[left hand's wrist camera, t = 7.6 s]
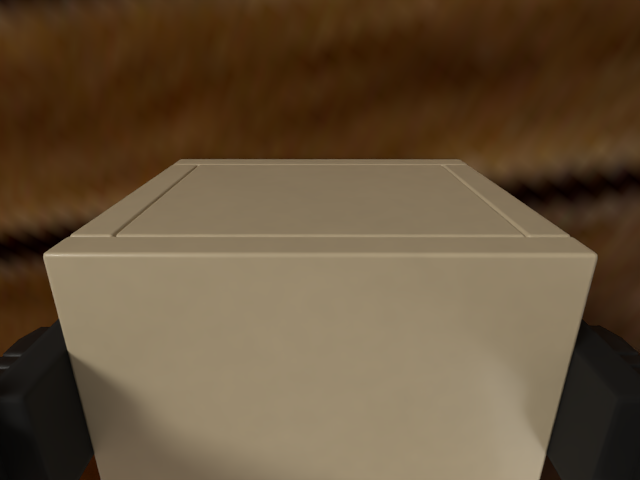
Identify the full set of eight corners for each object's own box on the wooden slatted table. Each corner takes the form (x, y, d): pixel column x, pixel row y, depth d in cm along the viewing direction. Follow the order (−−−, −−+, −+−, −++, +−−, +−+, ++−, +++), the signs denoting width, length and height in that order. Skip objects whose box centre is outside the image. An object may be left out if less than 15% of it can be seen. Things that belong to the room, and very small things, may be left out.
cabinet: (413, 550, 23) (459, 791, 15) (226, 550, 23) (180, 791, 15) (461, 159, 15) (601, 253, 8) (179, 158, 15) (39, 253, 8)
